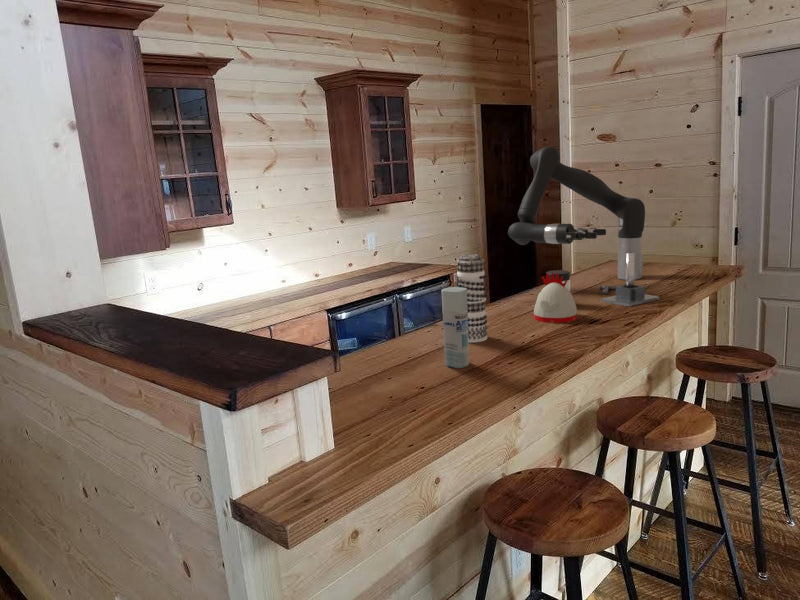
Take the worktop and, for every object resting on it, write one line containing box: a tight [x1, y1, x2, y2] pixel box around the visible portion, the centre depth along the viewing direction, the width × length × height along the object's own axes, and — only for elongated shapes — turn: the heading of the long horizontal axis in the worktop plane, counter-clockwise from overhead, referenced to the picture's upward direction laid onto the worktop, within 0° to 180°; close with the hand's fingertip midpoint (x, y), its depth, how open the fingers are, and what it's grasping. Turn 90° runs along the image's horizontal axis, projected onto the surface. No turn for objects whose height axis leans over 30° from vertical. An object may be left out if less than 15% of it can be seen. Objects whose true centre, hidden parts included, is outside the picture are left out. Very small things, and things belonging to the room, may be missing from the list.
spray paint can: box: [440, 286, 470, 369], centre depth 161 cm, size 6×6×20 cm
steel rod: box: [625, 252, 635, 288], centre depth 221 cm, size 3×3×16 cm
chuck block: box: [600, 283, 660, 307], centre depth 222 cm, size 16×12×5 cm
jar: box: [545, 269, 571, 292], centre depth 220 cm, size 9×8×12 cm
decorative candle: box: [455, 253, 488, 343], centre depth 184 cm, size 9×9×25 cm
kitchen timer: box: [533, 272, 578, 324], centre depth 203 cm, size 14×14×15 cm
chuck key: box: [599, 285, 617, 295], centre depth 238 cm, size 10×6×2 cm, turn 155°
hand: (601, 233), depth 224 cm, fingers open, 8 cm apart
